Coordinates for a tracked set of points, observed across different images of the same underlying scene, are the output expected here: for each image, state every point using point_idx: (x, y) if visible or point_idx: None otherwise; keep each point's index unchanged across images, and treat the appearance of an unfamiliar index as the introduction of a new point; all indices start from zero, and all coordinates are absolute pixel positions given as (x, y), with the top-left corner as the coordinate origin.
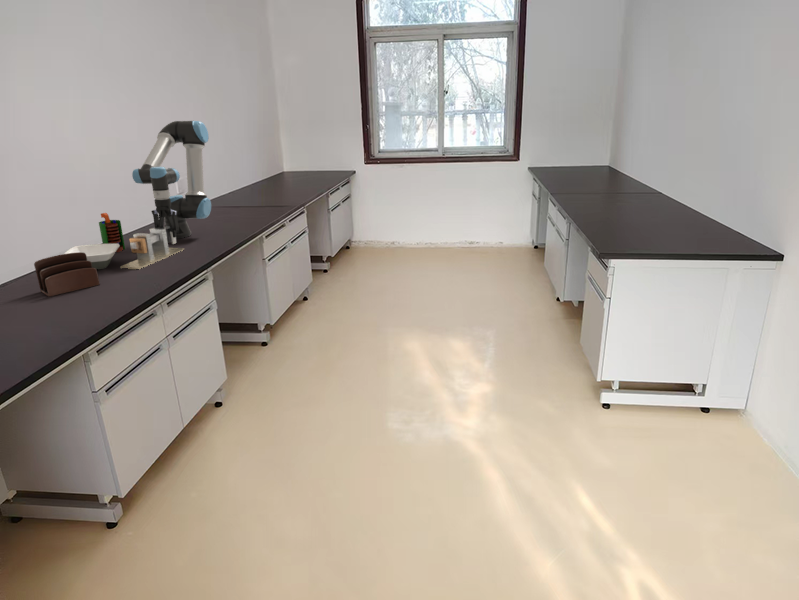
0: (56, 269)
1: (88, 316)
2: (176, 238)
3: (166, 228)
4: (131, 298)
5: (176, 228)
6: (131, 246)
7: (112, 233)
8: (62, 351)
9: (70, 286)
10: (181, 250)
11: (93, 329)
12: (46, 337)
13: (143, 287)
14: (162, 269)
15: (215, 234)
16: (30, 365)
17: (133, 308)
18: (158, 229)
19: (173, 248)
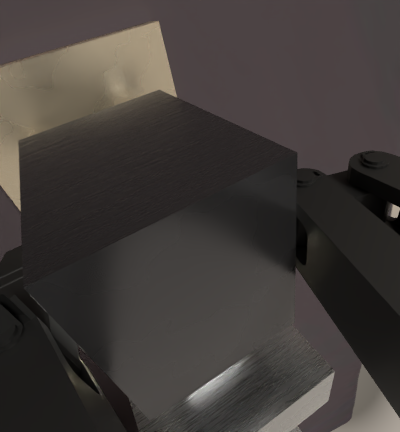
0: None
1: (325, 403)
2: (165, 94)
3: (261, 330)
4: (340, 365)
5: (388, 220)
6: None
7: None
8: (351, 405)
9: None
10: (167, 75)
11: (350, 393)
12: (321, 424)
13: (331, 349)
14: (299, 297)
15: None
16: (344, 418)
17: (360, 362)
18: (293, 427)
19: (62, 89)
